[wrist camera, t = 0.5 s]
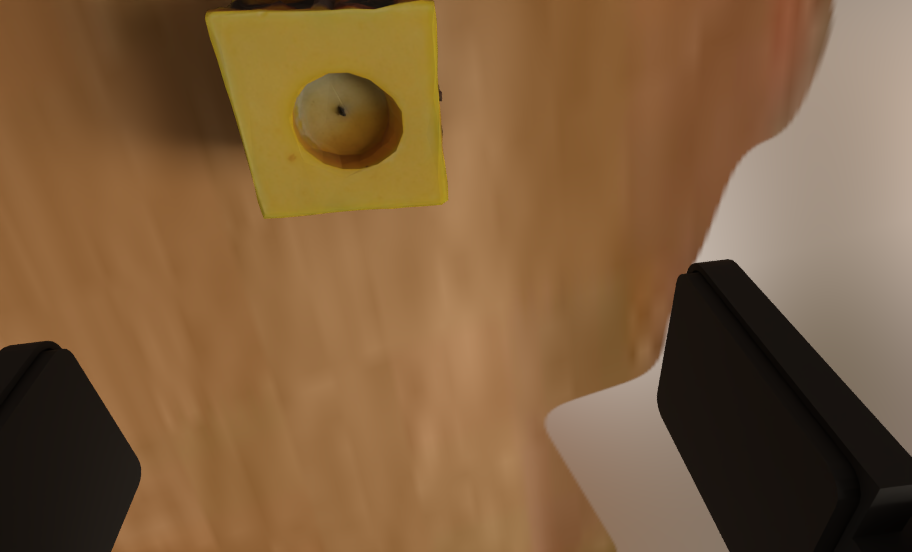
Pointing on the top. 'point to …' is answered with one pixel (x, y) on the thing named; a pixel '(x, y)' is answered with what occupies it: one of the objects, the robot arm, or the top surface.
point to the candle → (334, 102)
